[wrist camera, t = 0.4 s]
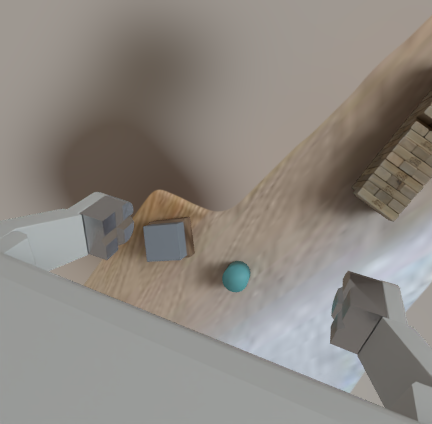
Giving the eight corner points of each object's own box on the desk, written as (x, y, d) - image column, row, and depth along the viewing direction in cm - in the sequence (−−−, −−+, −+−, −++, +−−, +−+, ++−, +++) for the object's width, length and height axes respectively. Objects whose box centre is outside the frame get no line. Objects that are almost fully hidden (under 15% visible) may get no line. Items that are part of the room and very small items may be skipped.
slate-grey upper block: (186, 255, 62) (180, 259, 58) (155, 257, 63) (147, 261, 59) (183, 221, 61) (176, 223, 58) (151, 224, 63) (143, 226, 59)
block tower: (452, 62, 53) (344, 193, 58) (485, 37, 45) (355, 192, 50) (492, 87, 52) (378, 218, 57) (532, 66, 44) (395, 222, 49)
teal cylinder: (251, 283, 63) (249, 291, 58) (228, 284, 64) (224, 292, 59) (248, 260, 63) (245, 266, 58) (225, 262, 64) (220, 268, 59)
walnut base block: (195, 252, 66) (189, 257, 62) (161, 255, 67) (153, 260, 64) (190, 216, 65) (184, 218, 61) (156, 220, 67) (148, 222, 63)
